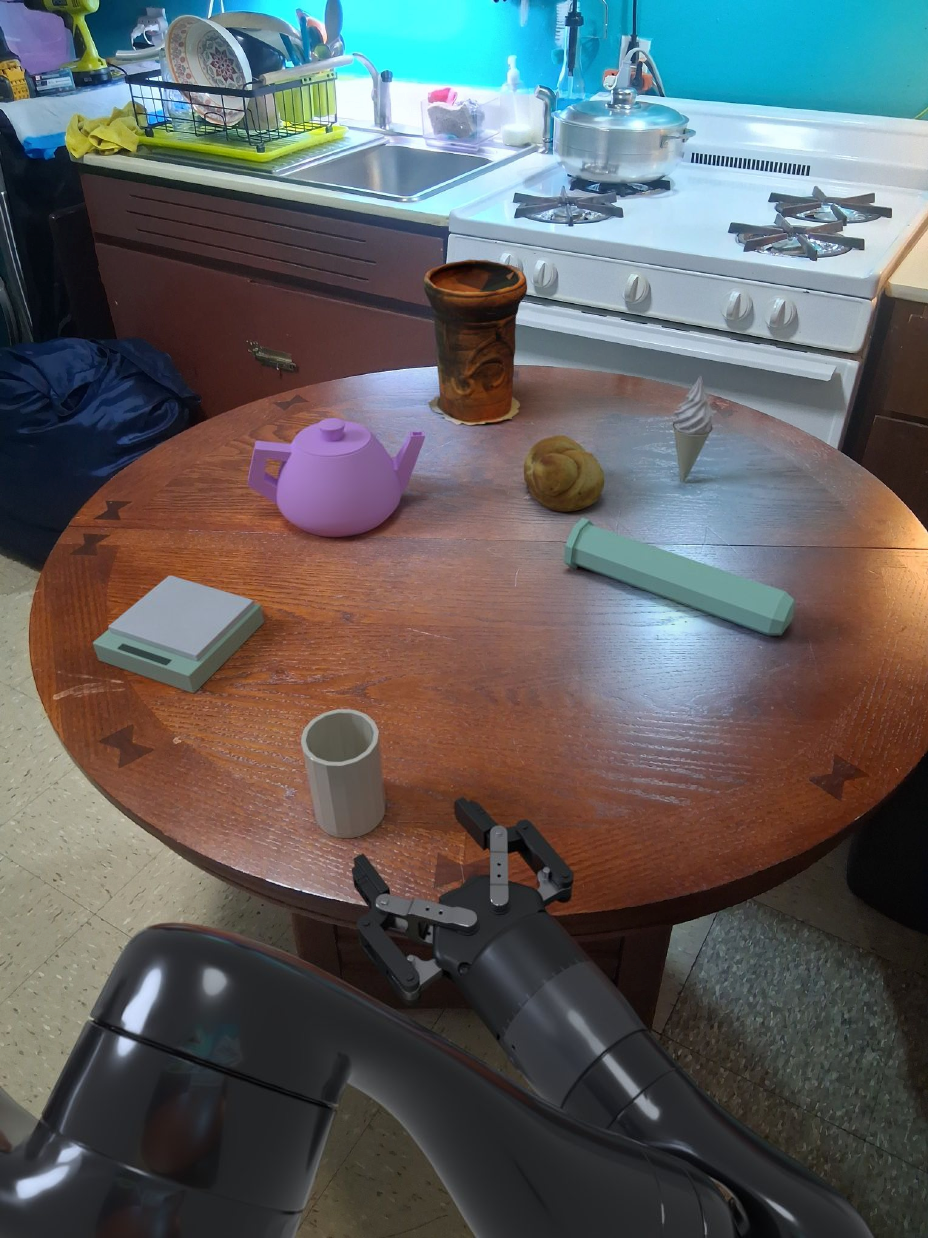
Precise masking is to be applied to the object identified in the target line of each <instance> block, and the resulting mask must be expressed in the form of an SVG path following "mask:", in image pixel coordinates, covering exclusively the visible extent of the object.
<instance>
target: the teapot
mask: <svg viewBox="0 0 928 1238" xmlns="http://www.w3.org/2000/svg"><path fill="white" fill-rule="evenodd" d="M425 439H426V434H425V431H424V430H412V431H411V430H410V431H409V434H408V436H407V437H406V439H405V441H404V442H403V444H402V445H401V448H400V449H399V451H398V452H397V454H396V456H394V457H392V456H391V455H390V454H389V452H388V450H387V449H386V448H385V446H384V445H383V444H382V443H381V442H380V440H379V439H378V438H377V437H376V435H374V433H373V432H371V430H369V429H368V428H367V427H366V426H364V425H362V424H360V423H357V422H354V421H349V420H344V419H342V418H338V417H330V418H329V417H328V418H324V419H322V420H320V421H319V422H317V423H313V424H311V425H308V426H306V427H305V428H303V429H302V430H300V431H299V432H298V433H297V434H296V435H295V437H294V438H293V439H292V441H291V443H285V442H284V443H283V442H276V441H275V442H274V441H264V440H255V442H254V448H253V451H252V457H251V462H250V467H249V472H248V477H247V484H246V487H248V488H250V489H251V490H253V491H255V492H256V493H258V494H259V495H261V496H262V497H264V498H265V499H267V500H269V501H271V502H272V503H274V504H275V505H277V507H278V510H279V511H280V513H281V515H282V516H283V517H284V518H285V519H287V521H289V523H291V524H293V525H294V526H296V527H297V528H298V529H300V530H302V531H304V532H306V533H308V534H311V535H315V536H318V537H324V538H325V537H327V538H343V537H352V536H356V535H361V534H364V533H367V532H369V531H372V530H374V529H375V528H377V527H379V526H380V525H381V524H383V523H384V522H385V521H386V520H387V519H388V518H389V517H390V516H391V515H392V514H393V513H394V511H395V510H396V509H397V507H398V506H399V504H400V501H401V499H402V493H404V492H406V490H407V487H408V485H409V482H410V479H411V476H412V474H413V472H414V469H415V465H416V463H417V461H418V458H419V455H420V452H421V450H422V447H423V445H424V441H425ZM267 459H269V460H275V461H281V463H280V465H279V469H278V472H277V476H276V477H274V476H273V475H272V474H270V473H268V472H266V468H267V467H266V466H267Z"/></svg>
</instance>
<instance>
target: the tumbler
mask: <svg viewBox="0 0 928 1238" xmlns="http://www.w3.org/2000/svg"><path fill="white" fill-rule="evenodd" d="M300 745H301V751H302V756H303V762H304V767H305V773H306V778H307V784H308V790H309V795H310V800H311V805H312V811H313V815H314V820H315V822H316V824H317V826H318V827H319V828H320V829H321V830H322V831H323V832H325V833H326V834H328V835H329V836H332V837H335V838H339V839H355V838H359V837H362V836H365V835H366V834H369V833H370V832H372V831H373V830H374V829H376V828H377V827H378V826H379V824H381V822H382V821H383V819H384V816H385V813H386V807H387V806H386V802H387V801H386V790H385V781H384V770H383V769H384V768H383V759H382V749H381V739H380V731H379V729H378V726H377V723H376V721H375V720H373V719H372V718H371V717H370V716H369V715H368V714H367V713H365V712H361V711H359V710H356V709H352V708H338V709H334V710H330V711H325V712H322V713H320V714H319V715H318V716H315V717H314V718H313V719H311V720H310V722H308V724H307V725H306V726H305V727H304V729H303V730H302V735H301V738H300Z"/></svg>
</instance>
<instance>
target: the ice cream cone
mask: <svg viewBox="0 0 928 1238" xmlns="http://www.w3.org/2000/svg"><path fill="white" fill-rule="evenodd" d="M685 397H686V398H685V399H686V400H685V401H684V402H682V403H680V404H678V405H677V407H678V408H679V410H674V412H673V415H674V416H676V418H675V419H673V420H672V424H671V426H672V429H673V435H674V442H675V450H676V457H677V464H678V472H679V477H680V483H681V484H684V483H686V480H687V479H688V477H689V475H690V473H691V471H692V469H693V467H694V465H695V464H696V461H697V459H698V458H699V456H700V453H701V452H702V449H703V448H704V446H705V443H706V441H707V439H708V438H709V435H710V434H711V433H712V432H713V430H714V428H713V422H714V418H715V414H714V411H713V409H712V406H710V405H709V403H708V399H709V395H708V394H707V392H706V390H705V387H704V382H703V378H702V375H701V374H700V375H699V377H698V378H697V380H696V381H695V383H694V384H693V386H692V387H691V388H690V390H689V391H688V392H687V394H686V395H685Z"/></svg>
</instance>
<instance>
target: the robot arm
mask: <svg viewBox="0 0 928 1238" xmlns="http://www.w3.org/2000/svg"><path fill="white" fill-rule="evenodd" d="M453 810H454V811H453V813H454V817H455V819H456V821H457V822H458V823H459V825H461V827H462V828H463V829H464V830H465V832H466V833H467V834H468V835H469V837H471V838H472V839H473V840H474V842H475V843H476V844H477V845H478V846H479V847H480V849H481V850H482V851H483V852H484V851H486V850H487V849H488V851H489V874H482V875H479V874H478V873H475V874H473V875H472V876H470V877H469V878H467V879H466V880H465V881H464V883H462V885H460V886H459V887H457V888H453V889H450V890H448V891H446V892H444V893H443V894H441V895H440V896H438V902H434V901H430V900H427V899H423V898H419V897H414V898H413V899H407V898H404V897H400V896H397V895H393V894H391V888H390V887H389V885H388V884H387V883H386V881H385V880H384V879H383V877H382V876H381V875H380V873H379V872H378V871H377V869H376V868H375V866H374V865H373V864H372V863H371V861H370V860H369V859H368V858H367V856H366V855H365V854H364V852H363V853H360V854H359V855H357V856H355V857H353V865H354V866H353V867H352V868H351V875H352V882H353V887H354V889H355V890H356V891H357V893H358V895H359V896H360V897H361V898H362V900H363V902H364V903H365V904H366V905H367V907H368V908H369V911H368V912H367V913H366V914H363V915H361V916H359V917H358V919H357V921H356V930H357V932H358V937H359V938H358V942H359V947H360V949H361V950H362V951H363V953H364V954H365V955H366V956H367V958H368V959H369V960H370V962H371V963H372V964H373V965H374V967H375V968H376V970H378V972H379V973H380V974H381V976H382V977H383V978H384V979H385V981H386V982H387V983H388V985H389V986H390V987H391V989H392V990H393V991H394V992H395V993H396V995H397V996H398V997H399V999H400V1001H402V1002H403V1004H404V1005H406V1006H408V1007H414V1006H417V1005H418V1004H419V1003H420V1001H421V1000H422V999H421V998H422V993H423V991H425V990H427V989H428V988H429V987H430V986H431V985H433V984H434V983H435V982H437V981H438V980H439V979H441V978H442V979H444V980H447V981H449V982H451V983H452V984H453V985H455V987H456V988H457V989H458V991H459V992H460V993H461V995H462V996H463V997H464V999H465V1001H466V1002H467V1003H468V1005H469V1006H470V1007H471V1008H472V1010H473V1011H474V1013H475V1014H476V1015H477V1017H478V1018H479V1019H480V1020H481V1022H482V1023H483V1025H484V1026H485V1027H486V1029H487V1030H488V1032H489V1033H490V1034H491V1036H492V1037H493V1038H494V1039H495V1041H496V1042H497V1044H498V1045H499V1046H500V1047H501V1049H502V1050H503V1052H504V1053H505V1054H506V1058H507V1060H508V1061H509V1062H510V1064H511V1066H512V1067H513V1068H514V1070H515V1071H516V1072H518V1073H519V1074H520V1075H521V1076H522V1077H523V1079H524V1081H526V1082H527V1084H528V1085H529V1087H531V1089H532V1090H533V1091H534V1092H533V1091H531V1090H530V1089H528V1088H526V1087H525V1086H523V1085H521V1084H520V1083H518V1082H517V1081H516V1080H514V1079H512V1078H511V1077H508V1076H507V1075H506V1074H504V1073H502V1072H501V1071H499V1070H498V1069H496V1068H495V1067H493V1066H491V1065H489V1063H487V1062H485V1061H484V1060H482V1059H481V1058H479V1057H477V1056H475V1055H474V1054H472V1053H471V1052H469V1051H467V1050H465V1049H464V1048H462V1047H460V1046H459V1045H457V1044H455V1043H453V1042H452V1041H450V1040H449V1039H447V1038H445V1037H443V1036H442V1035H440V1034H439V1033H436V1032H435V1031H433V1030H432V1029H430V1028H428V1027H426V1026H425V1025H422V1024H421V1023H419V1022H417V1021H415V1020H414V1019H412V1018H410V1017H409V1016H407V1015H405V1014H403V1013H402V1012H400V1011H398V1010H396V1009H395V1008H393V1007H391V1006H389V1005H388V1004H386V1003H385V1002H383V1001H382V1000H379V999H377V998H376V997H374V996H372V995H370V994H369V993H367V992H365V991H363V990H361V989H360V988H357V986H354V985H353V984H351V983H349V982H347V981H345V980H344V979H342V978H340V977H338V976H336V975H335V974H333V973H331V972H329V971H327V970H325V969H323V968H321V967H319V966H317V965H315V964H313V963H311V962H309V961H307V960H305V959H303V958H300V957H299V956H297V955H294V954H292V953H289V952H286V951H284V950H282V949H279V948H277V947H276V946H273V945H271V944H268V943H266V942H263V941H260V940H257V939H254V938H251V937H248V936H245V935H243V934H239V933H237V932H236V933H235V932H232V931H229V930H226V929H221V928H217V927H212V926H207V925H204V924H203V925H202V924H197V923H189V922H176V921H175V922H174V921H173V922H172V921H170V922H160V923H155V924H152V925H147V926H146V927H143V928H142V929H140V930H138V931H137V932H136V933H135V934H134V935H133V936H131V937H130V939H129V940H128V941H127V943H126V944H125V946H124V948H123V949H122V951H121V952H120V954H119V956H118V958H117V960H116V961H115V963H114V965H113V966H112V970H111V971H110V973H109V975H108V978H107V979H106V982H105V983H104V985H103V986H102V989H101V991H100V993H99V995H98V997H97V999H96V1001H95V1002H94V1005H93V1007H92V1009H91V1010H90V1013H89V1016H90V1018H92V1019H87V1020H86V1021H85V1022H84V1025H83V1027H82V1029H81V1031H80V1033H79V1035H78V1037H77V1039H76V1041H75V1044H74V1045H73V1047H72V1049H71V1052H70V1054H69V1055H68V1058H67V1060H66V1061H65V1064H64V1066H63V1068H62V1070H61V1071H60V1074H59V1076H58V1079H57V1080H56V1082H55V1085H54V1087H53V1089H52V1090H51V1093H50V1095H49V1097H48V1099H47V1100H46V1103H45V1105H44V1107H43V1109H42V1111H41V1115H40V1118H37V1117H36V1116H35V1115H33V1114H32V1113H31V1112H29V1110H27V1109H26V1108H24V1107H23V1106H22V1105H21V1104H19V1102H17V1101H16V1100H15V1099H14V1098H13V1097H12V1096H11V1095H10V1094H9V1093H8V1092H7V1090H5V1089H4V1088H3V1087H2V1086H1V1085H0V1238H295V1237H296V1234H297V1231H298V1228H299V1227H300V1223H301V1219H302V1215H303V1212H304V1208H305V1207H306V1206H307V1203H308V1200H309V1197H310V1194H311V1191H312V1189H313V1185H314V1182H315V1179H316V1176H317V1173H318V1170H319V1168H320V1164H321V1163H322V1162H321V1161H322V1159H323V1156H324V1154H325V1153H324V1152H325V1150H326V1147H327V1145H328V1142H329V1138H330V1135H331V1132H332V1129H333V1126H334V1123H335V1120H336V1117H337V1115H338V1110H337V1109H336V1108H335V1107H339V1106H340V1105H341V1104H340V1103H341V1100H342V1098H343V1096H344V1093H345V1090H346V1087H347V1085H349V1086H351V1087H353V1088H355V1089H356V1090H358V1091H360V1092H361V1093H363V1094H365V1095H366V1096H368V1097H369V1098H370V1099H372V1100H373V1101H375V1102H376V1103H378V1104H379V1105H380V1106H382V1107H383V1108H384V1109H385V1110H386V1111H387V1112H388V1113H390V1114H391V1116H393V1118H395V1120H396V1121H397V1122H399V1124H400V1125H401V1126H402V1127H403V1128H404V1129H405V1130H406V1131H407V1134H408V1135H410V1137H411V1138H412V1140H413V1141H414V1142H415V1144H416V1145H417V1146H418V1148H419V1149H420V1150H421V1152H422V1153H423V1154H424V1156H425V1157H426V1159H427V1160H428V1161H429V1163H430V1165H431V1166H432V1168H433V1169H434V1171H435V1172H436V1174H437V1175H438V1177H439V1179H440V1181H441V1182H442V1184H443V1185H444V1187H445V1189H446V1190H447V1192H448V1194H449V1196H450V1197H451V1199H452V1200H453V1202H454V1203H455V1205H456V1207H457V1209H458V1211H459V1213H460V1214H461V1216H462V1217H463V1219H464V1221H465V1223H466V1224H467V1226H468V1227H469V1229H470V1230H471V1232H472V1234H473V1235H474V1237H475V1238H876V1237H875V1236H874V1234H873V1232H872V1229H871V1228H870V1226H869V1225H868V1223H867V1221H866V1220H865V1218H864V1217H863V1215H862V1214H861V1213H860V1211H859V1210H858V1209H857V1207H855V1205H854V1204H853V1203H852V1202H851V1201H850V1200H849V1199H848V1198H847V1196H845V1195H844V1194H843V1193H842V1192H841V1191H840V1190H839V1189H838V1188H837V1187H835V1186H834V1185H833V1184H831V1183H830V1182H829V1181H827V1180H826V1179H824V1178H823V1176H821V1175H820V1174H818V1173H817V1172H815V1171H814V1170H812V1169H811V1168H810V1167H808V1166H806V1165H805V1164H803V1163H802V1162H800V1160H797V1159H795V1158H794V1157H793V1156H791V1155H790V1154H788V1153H786V1152H785V1151H783V1149H781V1148H779V1147H777V1146H776V1145H774V1143H772V1142H770V1141H769V1140H767V1139H766V1138H764V1137H763V1136H762V1135H760V1134H759V1133H758V1132H756V1131H754V1130H753V1129H752V1128H751V1127H750V1126H748V1125H747V1124H745V1123H744V1122H743V1121H741V1120H740V1119H738V1118H737V1117H736V1116H735V1115H734V1114H733V1113H732V1112H730V1111H729V1110H727V1109H726V1108H725V1107H724V1106H722V1104H720V1103H719V1102H718V1101H716V1100H715V1099H714V1098H713V1097H712V1096H711V1095H710V1094H708V1093H707V1092H706V1091H705V1090H704V1089H702V1088H701V1086H700V1085H699V1084H697V1082H696V1081H694V1080H693V1078H692V1076H690V1074H688V1072H687V1071H686V1070H684V1068H682V1067H681V1065H680V1064H679V1063H678V1062H677V1061H676V1059H674V1058H673V1056H672V1055H671V1054H670V1052H669V1051H668V1050H667V1049H666V1048H665V1047H664V1046H663V1045H662V1044H661V1043H660V1041H659V1040H658V1039H657V1037H655V1036H654V1035H653V1034H652V1032H651V1031H650V1030H649V1029H648V1027H647V1026H646V1024H644V1022H643V1021H642V1020H641V1019H640V1016H639V1015H638V1014H637V1012H636V1011H635V1009H634V1008H633V1006H632V1005H631V1003H630V1002H629V1001H628V999H627V998H626V997H625V996H624V994H623V993H622V992H621V991H620V989H619V988H618V987H617V986H616V985H615V984H614V983H613V982H612V981H611V980H610V978H609V977H608V976H607V975H606V974H605V972H603V970H602V969H601V968H600V967H599V966H598V965H597V964H596V962H595V961H594V960H593V959H592V958H591V956H590V955H589V954H587V952H586V951H585V950H584V949H583V948H582V947H581V946H580V945H579V944H578V942H577V941H576V940H575V939H574V937H572V936H571V935H570V933H569V932H568V931H567V930H566V929H565V928H564V926H563V925H562V924H561V923H560V922H559V921H558V920H557V919H556V917H554V915H551V914H550V913H549V912H548V910H547V909H546V907H548V906H549V905H551V904H553V903H554V902H556V901H557V902H558V903H560V904H567V903H568V902H569V901H571V899H572V895H573V886H574V879H575V874H574V871H573V870H572V869H571V867H569V865H568V864H567V863H566V862H565V861H564V859H563V858H562V857H561V856H560V855H559V853H558V852H557V851H556V850H555V849H554V847H552V844H550V843H549V842H548V841H547V839H546V838H545V837H544V836H543V835H542V833H541V832H540V831H539V830H538V829H537V827H536V826H535V825H534V824H533V823H532V822H531V821H530V820H528V819H521V820H518V821H517V822H516V824H515V825H512V826H508V827H505V826H503V825H499V824H498V823H497V822H496V821H495V819H494V818H493V817H492V816H491V815H490V814H489V813H488V812H487V811H486V810H485V809H484V808H483V807H482V806H481V804H480V803H479V802H477V801H475V800H473V799H470V800H467V798H466V797H464V796H461V797H459V798H458V799H456V800H454V802H453ZM513 853H517V854H519V856H520V857H521V859H523V861H524V862H525V863H526V865H527V866H528V867H529V869H531V871H532V872H533V873H534V874H535V876H536V887H537V889H536V888H534V887H533V886H530V885H525V884H522V883H519V882H515V881H513V880H509V854H513ZM430 924H431V925H430ZM387 932H390V933H395V934H398V935H401V936H405V937H406V938H408V939H409V940H410V941H411V942H413V943H415V944H419V945H423V946H426V947H429V948H431V957H432V958H431V959H430V960H422V959H420V958H419V957H418V956H417V955H414V954H409V955H407V956H406V955H405V954H404V953H403V951H402V950H401V949H400V948H399V947H398V946H397V944H396V943H395V942H394V940H393V939H392V938H391V937H390V935H389V934H387ZM717 1184H718V1185H720V1186H721V1187H722V1188H724V1189H725V1191H726V1192H727V1193H729V1195H730V1196H731V1197H730V1198H729V1199H728V1200H727V1199H726V1197H725V1196H724V1193H723V1192H722V1191H721V1189H720V1188H719V1186H718V1185H717Z"/></svg>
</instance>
